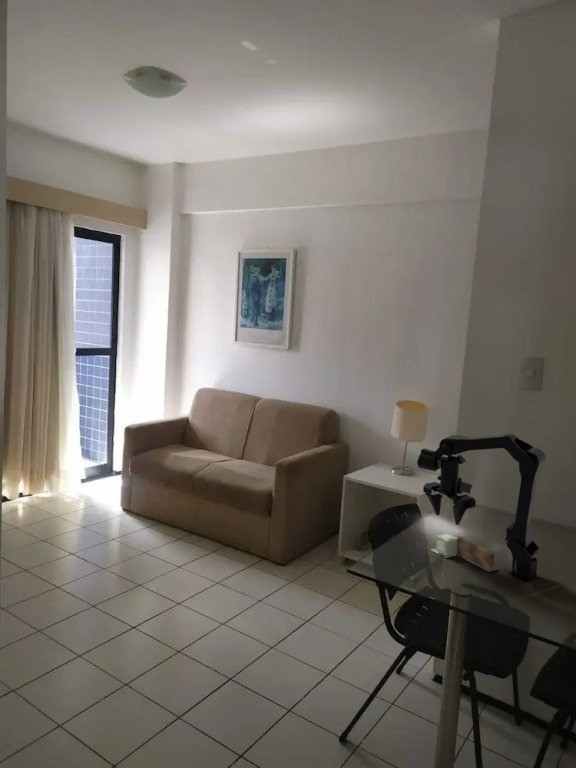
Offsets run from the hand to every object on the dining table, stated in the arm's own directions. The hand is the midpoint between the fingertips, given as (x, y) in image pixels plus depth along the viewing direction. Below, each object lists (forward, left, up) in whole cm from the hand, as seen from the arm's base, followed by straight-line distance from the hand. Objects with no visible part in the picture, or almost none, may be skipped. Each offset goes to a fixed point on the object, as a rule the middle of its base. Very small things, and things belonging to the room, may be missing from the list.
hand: (447, 519), depth 190 cm
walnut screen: (-10, -3, -11) cm, 16 cm away
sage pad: (0, 0, -11) cm, 11 cm away
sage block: (0, 0, -11) cm, 11 cm away
